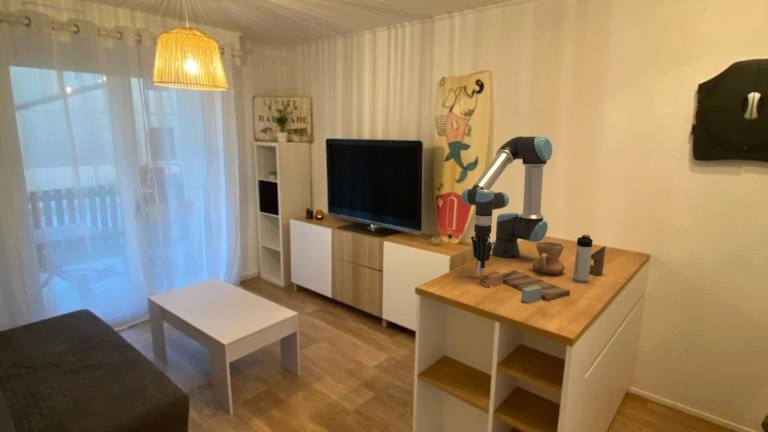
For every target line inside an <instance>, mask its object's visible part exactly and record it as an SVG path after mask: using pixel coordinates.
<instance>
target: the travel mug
mask: <svg viewBox="0 0 768 432" xmlns="http://www.w3.org/2000/svg"><path fill="white" fill-rule="evenodd" d="M576 240H577V241H576V249H575V256H574V257H575V258H574V259H575V260H574V267H573V268H574V269H573V276H572V279H573V281H574V282H576V283H580V284H583V283H584V284H586V283H588V282H589V279H590V277H589V276H590V273H589V270H590V265H591V260H592V259H591V254H592V251H593V250H592V249H593V242H594V241H593V239H592V238H591V237H590V238H586V237H583V236H582V235H581V236H580V237H577V239H576Z"/></svg>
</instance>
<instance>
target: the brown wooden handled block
mask: <svg viewBox="0 0 768 432" xmlns="http://www.w3.org/2000/svg"><path fill="white" fill-rule="evenodd" d="M510 271H511V270H510ZM510 271H509V270H508V271H505V273H504V272H499V271H496V270H494V269H493V270H488V271H484V272H483V273H480V275H479V283H480V282H481V283H483V284H485V285H487V286H489V287H490V286H495V287H497V286H496V285H499V286H502V285H501V284H503V285H504V283H503V277H505V276H509V275H512V272H510ZM487 286H486V287H487ZM489 287H488V288H489Z"/></svg>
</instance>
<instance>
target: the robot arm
mask: <svg viewBox="0 0 768 432" xmlns="http://www.w3.org/2000/svg"><path fill="white" fill-rule="evenodd" d="M552 155H553V145H552V142H551V141H550V139H549V138H548V137H546V136H539V135H537V136H523V135H522V136H515V137H513V138H511V139H509V140H508V141H506V142H505V143H504V144H502V145H501V146H500V147H499V148H498V149H497V151H496V153H495V157H494V158H493V160H492V161H491V162H490V163H489V165H488V166H487V167H486V168H485V170H484V171H483V172H482V174H481V175H480V176H479V178H478V179H477V181H475V182H474V184H473V186H472V187H471V188H467V189H466V188H465V189H464V190H462V192H461V202H462V203H463V204H465V205H469V206H475V211H474V230H473V232H474V236H471V237H470V239H471V244H472V252H473V258H475V259H476V267H477V269H476V274H477V275H478V276H480V273H483V272H485V267H486V262H487V261H489V260H490V257H491V255H493V256H495V257H499V258H503V259H506V258H507V259H515V258H518V257H519V258H520V256H521V250H520V248H519V243H518V239H519V240H522V241H523V240H524V241H526V242H527V241H529V242H531V243H532V242H533V243H538V242H542V241H543V239H544V238H545V236H546V234H547V232H548V223H547V221H546V220H544V215H543V214H542V213H541V211H542V209H541V208H542V193H543V176H544V175H543V174H544V167H545V166H546V165H547V161H549V160H550V159H551V158H552ZM516 160H522V163H521V165H523V166H524V167H525V168H524V169H525V170H524V186H523V208H522V213H516V212H507V213H500V214H498V215H497V218H496V224H495V225H496V228H495V230H496V231H495V240H494V241H492V240H491V233H492V226H493V225H492V223H493V210H494V211H495V210H498V209H500V210H501V209H503V208H506V207H507V206H508V205H509V202H510V197H509V196H508V194H507V193H506V192H503V191H502V192H501V191H497V192H496V191H495V192H494V191H493V190H491V189H492V187H493V186H494V184H495V183H496V182H497V180H498V179H499V178H500V176H501V175H502V174H503V172H504V171H505V169H506V168H507V167H508V165H511V164H512V163H513V162H514V161H516Z"/></svg>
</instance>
